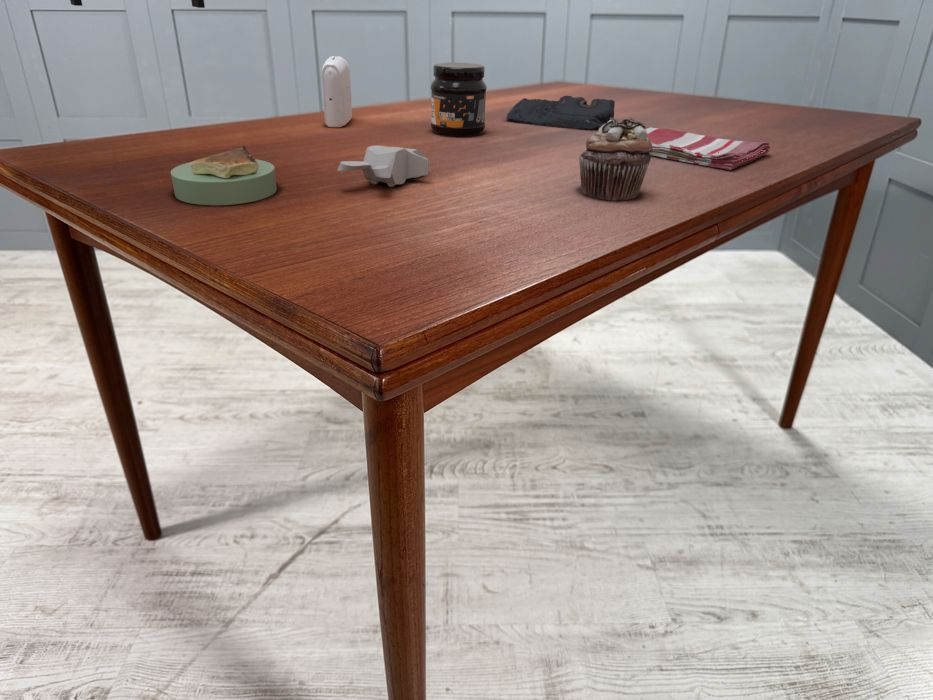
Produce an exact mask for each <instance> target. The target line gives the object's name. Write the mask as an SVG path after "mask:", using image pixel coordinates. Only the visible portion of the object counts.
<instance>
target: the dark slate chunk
mask: <svg viewBox="0 0 933 700" xmlns="http://www.w3.org/2000/svg"><path fill="white" fill-rule="evenodd" d="M615 104H616V103H615V101H614V100H613V99H606V98H594V99H592V100H591V102H590V104H588V101H587V100H586V99H585V98H584V97H582V96H577V97H573V96H572V95H563V96H561V97H560V98H559V100H548V99H541V98H537V99H536V98H531V99H528V98H525V97H523V98H522V99H520V100H519V101H518V102H517V103H515V105H513V107H512V108H511V109H510V110H509V111H508V113H507V114H506V119H507V120H508V121H512V122H516V123H520V124H529V125H536V126H547V127H555V128H567V129H568V128H569V129H577V130H587V131H589V130H592V131H593V130H599V128H600V127H601V126H603V125H604V124H606V123H607V122H608V121H609V120H610V118H613V119H614V120H615V106H616V105H615Z"/></svg>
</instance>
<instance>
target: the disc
mask: <svg viewBox="0 0 933 700" xmlns="http://www.w3.org/2000/svg"><path fill="white" fill-rule="evenodd" d="M254 159H255V160H256V162H257V163H258V165H259V167H258V170H257V172H256V173H252V174H248V175H232V176H230V177H229V178H222V177H218V176H215V175H213V174H193V172H192V169H191V166H190V165H191V163H192V162H193V161H190V162H189V161H188V162H186V163H185V162H184V163H183V164H179V165H176V166H174V168H172V169H171V170H170V177H171V183H172V188H173V191H174V192H173V193H174V197H175V198H176V199H177V200H179V201H181V202H183V203H186V204H190V205H191V204H192V205H197V206H235V205H242V204H248V203H252V202H258V201H261V200H264V199H267V198H269V197H271V196H273V195H274V194H275V193H276V192H277V190H278V187H277V186H278V185H277V179H276V169H275V166H274V164H272V163H270V162H269V161H265V160H262V159H256V158H254Z"/></svg>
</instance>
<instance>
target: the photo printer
mask: <svg viewBox="0 0 933 700" xmlns="http://www.w3.org/2000/svg"><path fill="white" fill-rule="evenodd" d="M321 84H322V85H321V86H322V101H323V110H324V111H323V114H324V123H325V124H324V125H325V126H327V127H328V128H342V127H344V126H346V125H347V124H348V123H349V122H351V120H352V118H353V102H352V85H351V69H350V65H349V63H348V61H347V60H346V59H345V58H343V57H342V56H341V55H337V56H336V55H331V56H330V57H328V58H327V59H326V60H325V61H324V63H323V65H322V67H321Z"/></svg>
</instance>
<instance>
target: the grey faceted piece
mask: <svg viewBox="0 0 933 700" xmlns="http://www.w3.org/2000/svg"><path fill="white" fill-rule="evenodd" d="M358 170H362V172H363V175H364V178H365V180H366V181H370V183H371V184H372V185H377V184H379V182H380V183H385V184H387V186H388V187H389V188H394V187H395V186H396V185H403V184H405V182H406V180H408V179H412V178H415V179H416V178H420V177H423V176H427V175H429V174H430V159H428V158H427V156H425V155H424V152H423V151H422V150H421V149H415V148H408V147H401V146H386V145H377V144H376V145H371V146H368V147H366V151H365V153H364V158H363V160H362V161H360V160H358V161H357V160H356V161H355V160H353V161H352V160H351V161H350V160H349V161H348V160H347V161H346V160H345V161H344V160H343V161H340V164H339V165H338V168H337V171H338V172H352V171H358Z"/></svg>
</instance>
